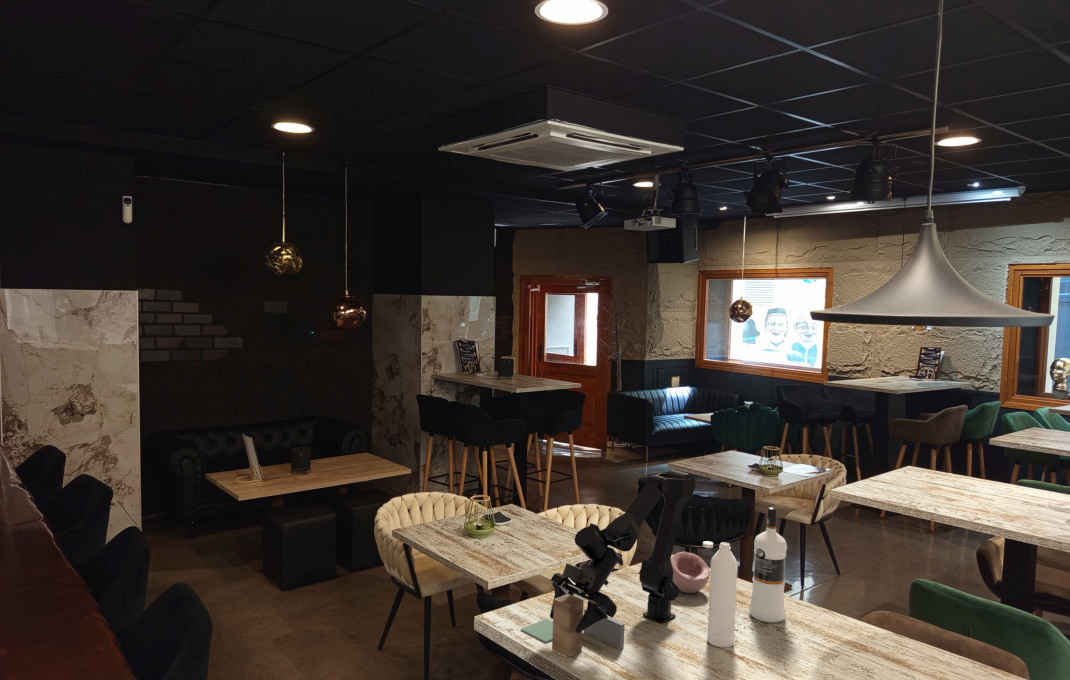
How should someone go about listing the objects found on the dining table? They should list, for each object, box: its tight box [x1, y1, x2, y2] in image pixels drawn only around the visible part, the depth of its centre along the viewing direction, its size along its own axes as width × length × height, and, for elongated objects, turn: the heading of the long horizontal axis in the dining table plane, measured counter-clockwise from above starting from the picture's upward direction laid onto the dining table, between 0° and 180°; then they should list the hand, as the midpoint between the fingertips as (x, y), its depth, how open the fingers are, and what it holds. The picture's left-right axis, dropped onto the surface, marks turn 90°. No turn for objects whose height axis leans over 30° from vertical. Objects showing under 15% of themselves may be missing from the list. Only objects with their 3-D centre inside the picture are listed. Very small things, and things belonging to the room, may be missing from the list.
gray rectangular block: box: [582, 607, 626, 650], centre depth 176 cm, size 1×12×6 cm, turn 44°
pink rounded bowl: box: [671, 551, 711, 594], centre depth 208 cm, size 12×12×12 cm
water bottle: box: [702, 540, 739, 648], centre depth 176 cm, size 9×6×25 cm
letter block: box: [551, 594, 584, 658], centre depth 169 cm, size 5×5×12 cm
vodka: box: [748, 506, 788, 624], centre depth 192 cm, size 9×9×30 cm
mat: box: [520, 618, 553, 643], centre depth 179 cm, size 9×9×1 cm
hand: (563, 624), depth 168 cm, fingers open, 9 cm apart
